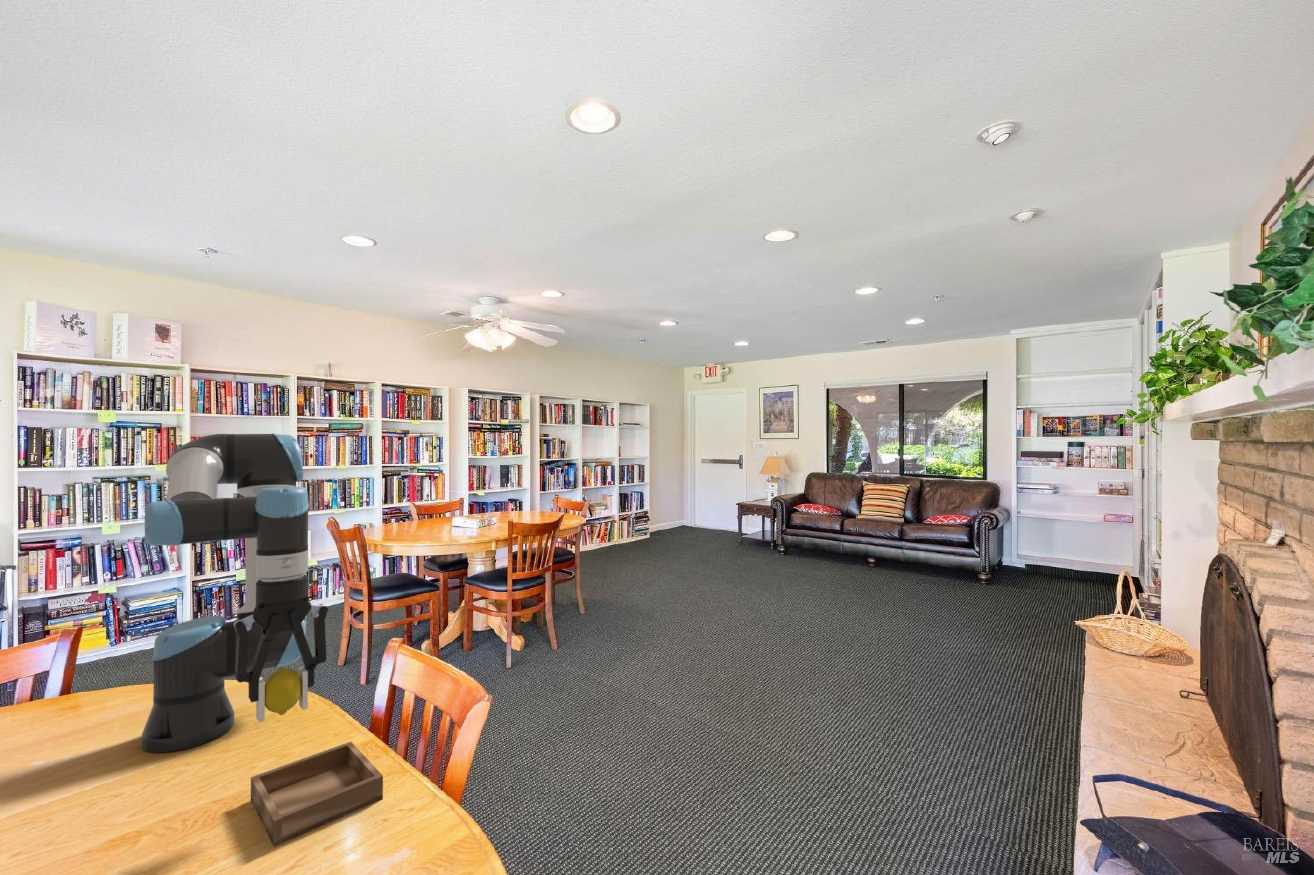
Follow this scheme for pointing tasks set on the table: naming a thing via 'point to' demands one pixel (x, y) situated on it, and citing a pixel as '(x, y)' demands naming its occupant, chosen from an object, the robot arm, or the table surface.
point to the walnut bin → (314, 791)
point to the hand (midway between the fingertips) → (282, 712)
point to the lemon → (282, 690)
